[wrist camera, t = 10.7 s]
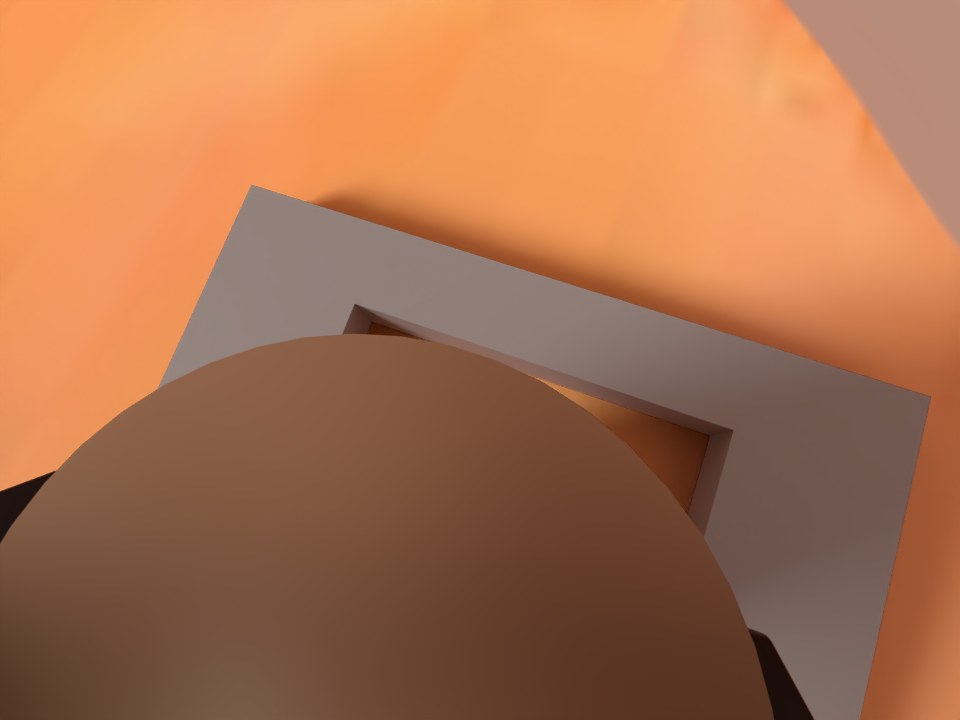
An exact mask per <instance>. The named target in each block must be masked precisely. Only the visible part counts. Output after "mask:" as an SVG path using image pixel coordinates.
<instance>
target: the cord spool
mask: <svg viewBox="0 0 960 720" xmlns="http://www.w3.org/2000/svg"><path fill="white" fill-rule="evenodd" d="M0 720H774V717H773V710H772V707H771V703H770V699H769V696H768V692H767V688H766V684H765V681H764V677H763V673H762V670H761V666H760V662H759V659H758V655H757V651H756V648H755V645H754V643H753V640H752V638H751V635H750V633H749V630H748V628H747V625H746V623H745V620H744V618H743V615H742V613H741V610H740V608H739V605H738V603H737V600H736V598H735V596H734V593H733V591H732V588H731V586H730V585H729V583H728V581H727V579H726V577H725V576H724V574H723V572H722V570H721V568H720V566H719V565H718V563H717V561H716V559H715V557H714V556H713V554H712V552H711V550H710V548H709V546H708V545H707V543H706V541H705V539H704V537H703V536H702V534H701V533H700V531H699V530H698V529H697V527H696V526H695V524H694V523H693V522H692V520H691V519H690V518H689V516H688V515H687V513H686V512H685V511H684V509H683V508H682V506H681V505H680V504H679V502H678V501H677V499H676V498H675V497H674V495H673V494H672V493H671V491H670V490H669V488H668V487H667V486H666V485H665V484H664V483H663V482H662V481H661V480H660V479H659V477H658V476H657V475H656V474H655V473H654V472H653V471H652V470H651V469H650V468H649V467H648V466H647V464H646V463H645V462H644V461H643V460H642V459H641V458H640V457H639V456H638V455H637V454H636V453H635V452H634V450H633V449H632V448H631V447H630V446H629V445H627V444H626V443H625V442H624V441H623V440H622V439H620V438H619V437H618V436H617V435H616V434H614V433H613V432H612V431H611V430H610V429H608V428H607V427H606V426H605V425H604V424H603V423H601V422H600V421H599V420H598V419H597V418H595V417H594V416H593V415H592V414H591V413H589V412H588V411H587V410H585V409H584V408H582V407H581V406H579V405H577V404H576V403H574V402H573V401H571V400H570V399H568V398H567V397H565V396H563V395H562V394H560V393H559V392H557V391H556V390H554V389H553V388H551V387H549V386H548V385H546V384H545V383H543V382H541V381H539V380H537V379H535V378H533V377H530V376H528V375H526V374H524V373H522V372H520V371H518V370H516V369H514V368H512V367H509V366H507V365H505V364H503V363H501V362H499V361H497V360H493V359H490V358H487V357H484V356H481V355H478V354H475V353H472V352H469V351H466V350H463V349H460V348H457V347H453V346H450V345H445V344H440V343H435V342H429V341H424V340H419V339H413V338H408V337H402V336H387V335H368V334H341V335H328V336H315V337H303V338H298V339H293V340H289V341H284V342H279V343H274V344H269V345H264V346H259V347H255V348H252V349H249V350H246V351H243V352H240V353H238V354H235V355H232V356H229V357H226V358H223V359H220V360H217V361H214V362H211V363H209V364H206V365H204V366H202V367H200V368H198V369H196V370H194V371H192V372H190V373H188V374H186V375H184V376H182V377H180V378H177V379H175V380H173V381H171V382H169V383H167V384H165V385H163V386H162V387H160V388H159V389H157V390H156V391H154V392H152V393H151V394H149V395H148V396H146V397H145V398H143V399H142V400H140V401H138V402H137V403H135V404H134V405H132V406H131V407H129V408H127V409H126V410H124V411H123V412H121V413H120V414H119V415H118V416H117V417H115V418H114V419H113V420H112V421H110V422H109V423H108V424H107V425H105V426H104V427H103V428H102V429H101V430H99V431H98V432H97V433H96V434H94V435H93V436H92V437H91V438H90V439H88V440H87V441H86V442H85V443H83V444H82V445H81V446H80V447H79V448H78V449H77V450H76V451H75V452H74V453H73V454H72V455H71V456H70V457H69V459H68V460H67V461H66V462H65V463H64V464H63V465H62V466H61V467H60V468H59V469H58V470H57V471H56V472H55V473H54V474H53V475H52V476H51V477H50V478H49V479H48V480H47V481H46V482H45V483H44V484H43V486H42V487H41V488H40V490H39V491H38V492H37V493H36V495H35V496H34V497H33V499H32V500H31V501H30V502H29V504H28V505H27V506H26V508H25V509H24V510H23V511H22V513H21V514H20V515H19V517H18V518H17V519H16V520H15V522H14V523H13V524H12V526H11V527H10V529H9V530H8V532H7V534H6V535H5V537H4V538H3V540H2V542H1V543H0Z"/></svg>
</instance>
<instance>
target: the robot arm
mask: <svg viewBox="0 0 960 720" xmlns="http://www.w3.org/2000/svg"><path fill="white" fill-rule="evenodd" d="M56 471H57V470H56ZM56 471H54V472H51V473H48V474H45V475H43V476H40V477H37V478H35V479H32V480H29V481H27V482H24V483H21V484H19V485H16V486H13V487H11V488H8V489H5V490H2V491H0V543H1V542H2V540H3V538H4V537H5V535H6V534H7V532H8V530H9V529H10V527H11V526H12V524H13V523H14V522H15V520H16V519H17V518H18V517H19V515H20V514H21V513H22V511H23V510H24V509H25V508H26V506H27V505H28V504H29V502H30V501H31V500H32V499H33V497H34V496H35V495H36V493H37V492H38V491H39V490H40V488H41V487H42V486H43V484H44V483H45V482H46V481H47V480H48V479H49V478H50V477H51V476H52V475H53V474H54V473H55V472H56ZM747 628H748V627H747ZM748 630H749V633H750V635H751V638H752V640H753V643H754V645H755V648H756V651H757V655H758V659H759V662H760V666H761V670H762V673H763V677H764V681H765V684H766V688H767V692H768V696H769V699H770V703H771V707H772V710H773V717H774V720H815V719H814V718H813V716H812V714H811V712H810V710H809V708H808V707H807V705H806V703H805V701H804V699H803V697H802V696H801V694H800V692H799V690H798V688H797V686H796V685H795V683H794V681H793V679H792V677H791V675H790V674H789V672H788V670H787V668H786V666H785V665H784V663H783V661H782V659H781V657H780V655H779V654H778V652H777V650H776V648H775V646H774V644H773V643H772V641H771V640H770V638H769V637H768V636H767V635H765V634H763V633H761V632H758V631H756V630H753V629H750V628H748Z"/></svg>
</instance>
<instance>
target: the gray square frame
mask: <svg viewBox="0 0 960 720" xmlns="http://www.w3.org/2000/svg"><path fill="white" fill-rule="evenodd" d="M372 322H374V323H377V324H380V325H383V326H386V327H388V328H391V329H394V330H397V331H400V332H403V333H406V334H409V335H412V336H415V337H418V338H421V339H424V340H427V341H430V342H435V343H440V344H445V345H450V346H453V347H457V348H460V349H463V350H466V351H469V352H472V353H475V354H478V355H481V356H484V357H487V358H490V359H493V360H497V361H499V362H501V363H503V364H505V365H507V366H509V367H512V368H514V369H516V370H518V371H520V372H522V373H525V374H528V375H531V376H534V377H537V378H540V379H543V380H546V381H549V382H552V383H555V384H558V385H561V386H564V387H566V388H569V389H572V390H575V391H578V392H581V393H584V394H587V395H590V396H593V397H596V398H599V399H602V400H605V401H608V402H611V403H614V404H617V405H620V406H623V407H626V408H629V409H632V410H635V411H638V412H641V413H644V414H647V415H650V416H653V417H655V418H658V419H661V420H664V421H667V422H670V423H673V424H676V425H679V426H682V427H685V428H688V429H691V430H694V431H697V432H700V433H703V434H706V435H709V436H710V438H709V442H708V445H707V449H706V452H705V456H704V459H703V463H702V466H701V470H700V473H699V477H698V480H697V484H696V487H695V491H694V494H693V498H692V501H691V505H690V508H689V512H688V516H689V518H690V519H691V520H692V522H693V523H694V524H695V526H696V527H697V529H698V530H699V531H700V533H701V534H702V536H703V537H704V539H705V541H706V543H707V545H708V546H709V548H710V550H711V552H712V554H713V556H714V557H715V559H716V561H717V563H718V565H719V566H720V568H721V570H722V572H723V574H724V576H725V577H726V579H727V581H728V583H729V585H730V586H731V588H732V591H733V593H734V596H735V598H736V600H737V603H738V605H739V608H740V610H741V613H742V615H743V618H744V620H745V623H746V625H747V627H748V628H750V629H753V630H756V631H758V632H761V633H763V634H765V635H767V636H768V637H769V638H770V640H771V641H772V643H773V644H774V646H775V648H776V650H777V652H778V654H779V655H780V657H781V659H782V661H783V663H784V665H785V666H786V668H787V670H788V672H789V674H790V675H791V677H792V679H793V681H794V683H795V685H796V686H797V688H798V690H799V692H800V694H801V696H802V697H803V699H804V701H805V703H806V705H807V707H808V708H809V710H810V712H811V714H812V716H813V718H814V719H815V720H860V716H861V712H862V707H863V702H864V698H865V693H866V689H867V684H868V680H869V675H870V671H871V666H872V662H873V657H874V653H875V648H876V644H877V639H878V635H879V630H880V626H881V621H882V616H883V612H884V607H885V603H886V598H887V594H888V589H889V585H890V580H891V576H892V571H893V567H894V562H895V558H896V553H897V549H898V544H899V540H900V535H901V530H902V526H903V521H904V517H905V512H906V508H907V503H908V499H909V494H910V490H911V485H912V481H913V476H914V472H915V467H916V463H917V458H918V454H919V449H920V445H921V440H922V435H923V431H924V426H925V422H926V417H927V413H928V408H929V404H930V399H931V397H930V396H927V395H924V394H920V393H917V392H914V391H911V390H908V389H904V388H901V387H898V386H895V385H892V384H888V383H885V382H882V381H879V380H876V379H872V378H869V377H866V376H863V375H860V374H856V373H853V372H850V371H847V370H844V369H840V368H837V367H834V366H831V365H828V364H824V363H821V362H818V361H815V360H812V359H808V358H805V357H802V356H799V355H795V354H792V353H789V352H786V351H783V350H779V349H776V348H773V347H770V346H767V345H763V344H760V343H757V342H754V341H751V340H747V339H744V338H741V337H738V336H735V335H731V334H728V333H725V332H722V331H719V330H715V329H712V328H709V327H706V326H703V325H699V324H696V323H693V322H690V321H687V320H683V319H680V318H677V317H674V316H670V315H667V314H664V313H661V312H658V311H654V310H651V309H648V308H645V307H642V306H638V305H635V304H632V303H629V302H626V301H622V300H619V299H616V298H613V297H610V296H606V295H603V294H600V293H597V292H594V291H590V290H587V289H584V288H581V287H578V286H574V285H571V284H568V283H565V282H562V281H558V280H555V279H552V278H549V277H546V276H542V275H539V274H536V273H533V272H529V271H526V270H523V269H520V268H517V267H513V266H510V265H507V264H504V263H501V262H497V261H494V260H491V259H488V258H485V257H481V256H478V255H475V254H472V253H469V252H465V251H462V250H459V249H456V248H453V247H449V246H446V245H443V244H440V243H437V242H433V241H430V240H427V239H424V238H421V237H417V236H414V235H411V234H408V233H405V232H401V231H398V230H395V229H392V228H388V227H385V226H382V225H379V224H376V223H372V222H369V221H366V220H363V219H360V218H356V217H353V216H350V215H347V214H344V213H340V212H337V211H334V210H331V209H328V208H324V207H321V206H318V205H315V204H312V203H308V202H305V201H302V200H299V199H296V198H292V197H289V196H286V195H283V194H280V193H276V192H273V191H270V190H267V189H264V188H260V187H257V186H254V185H251V187H250V189H249V192H248V194H247V196H246V198H245V200H244V202H243V205H242V207H241V209H240V211H239V213H238V215H237V218H236V220H235V222H234V224H233V226H232V229H231V231H230V233H229V235H228V237H227V239H226V242H225V244H224V246H223V248H222V250H221V252H220V255H219V257H218V259H217V261H216V263H215V266H214V268H213V270H212V272H211V274H210V276H209V279H208V281H207V283H206V285H205V287H204V289H203V292H202V294H201V296H200V298H199V300H198V303H197V305H196V307H195V309H194V311H193V313H192V316H191V318H190V320H189V322H188V324H187V326H186V329H185V331H184V333H183V335H182V337H181V340H180V342H179V344H178V346H177V348H176V350H175V353H174V355H173V357H172V359H171V361H170V363H169V366H168V368H167V370H166V372H165V374H164V377H163V379H162V381H161V383H160V385H159V387H158V389H159V388H160V387H162V386H163V385H165V384H167V383H169V382H171V381H173V380H175V379H177V378H180V377H182V376H184V375H186V374H188V373H190V372H192V371H194V370H196V369H198V368H200V367H202V366H204V365H206V364H209V363H211V362H214V361H217V360H220V359H223V358H226V357H229V356H232V355H235V354H238V353H240V352H243V351H246V350H249V349H252V348H255V347H259V346H264V345H269V344H274V343H279V342H284V341H289V340H293V339H298V338H303V337H315V336H328V335H341V334H367V333H368V331H369V328H370V326H371V323H372Z"/></svg>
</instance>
